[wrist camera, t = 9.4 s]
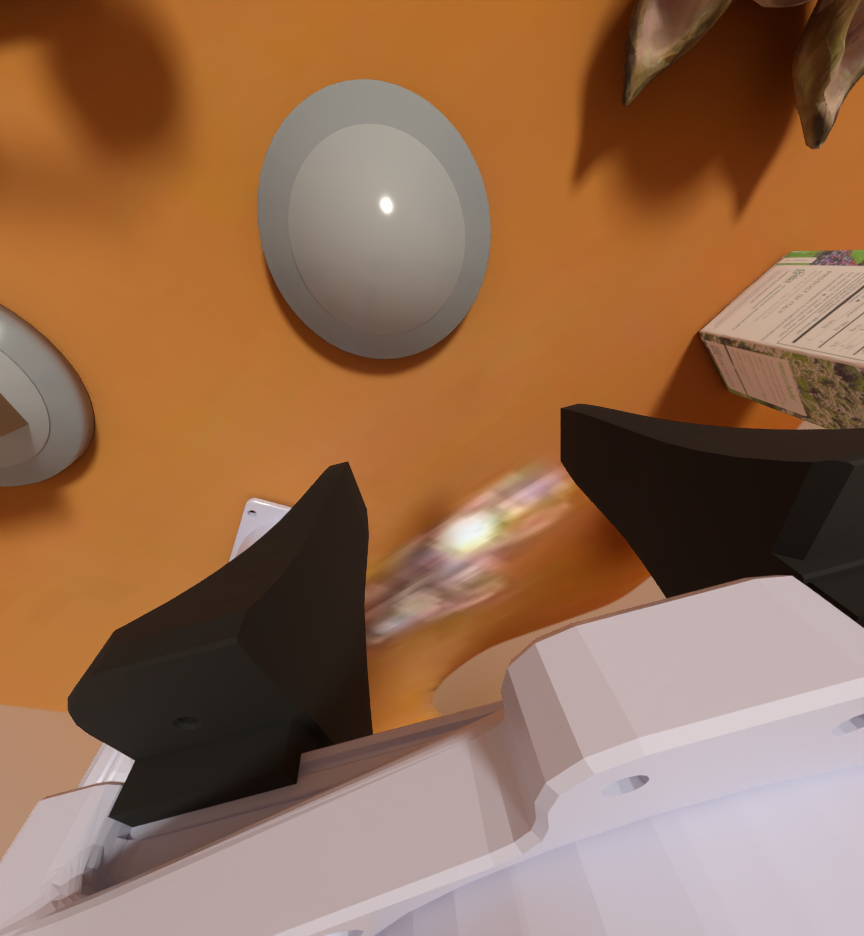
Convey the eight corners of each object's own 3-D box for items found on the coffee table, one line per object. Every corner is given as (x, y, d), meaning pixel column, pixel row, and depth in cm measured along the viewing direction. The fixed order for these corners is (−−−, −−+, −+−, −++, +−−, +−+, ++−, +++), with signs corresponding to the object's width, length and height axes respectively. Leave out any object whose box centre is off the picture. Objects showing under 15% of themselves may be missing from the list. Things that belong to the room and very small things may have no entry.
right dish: (428, 384, 20) (431, 390, 19) (241, 299, 16) (233, 301, 15) (524, 186, 16) (534, 181, 15) (302, 19, 12) (295, -2, 11)
